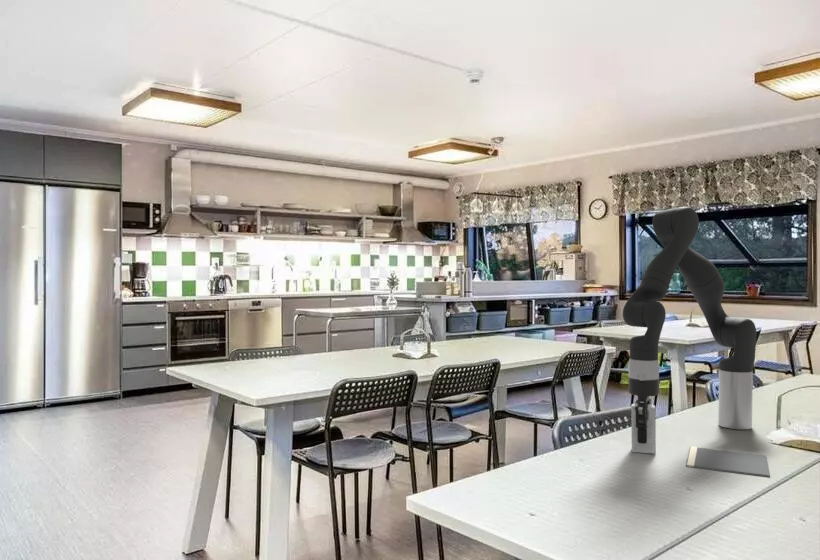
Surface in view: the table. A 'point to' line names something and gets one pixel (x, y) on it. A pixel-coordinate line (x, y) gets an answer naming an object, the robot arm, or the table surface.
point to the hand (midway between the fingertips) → (643, 440)
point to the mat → (728, 461)
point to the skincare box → (651, 433)
